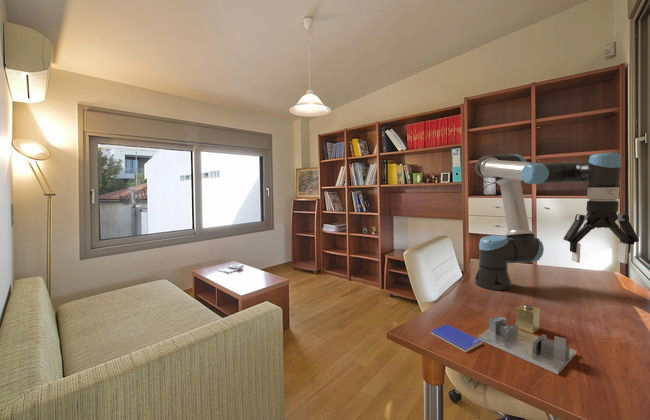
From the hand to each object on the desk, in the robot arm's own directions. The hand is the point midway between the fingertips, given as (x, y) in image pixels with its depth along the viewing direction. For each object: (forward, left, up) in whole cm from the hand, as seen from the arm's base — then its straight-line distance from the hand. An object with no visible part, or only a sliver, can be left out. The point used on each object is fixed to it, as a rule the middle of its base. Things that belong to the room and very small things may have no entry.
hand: (598, 262), depth 94 cm
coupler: (-12, -23, -21) cm, 34 cm away
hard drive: (-22, -48, -22) cm, 58 cm away
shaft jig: (-8, -36, -21) cm, 43 cm away
